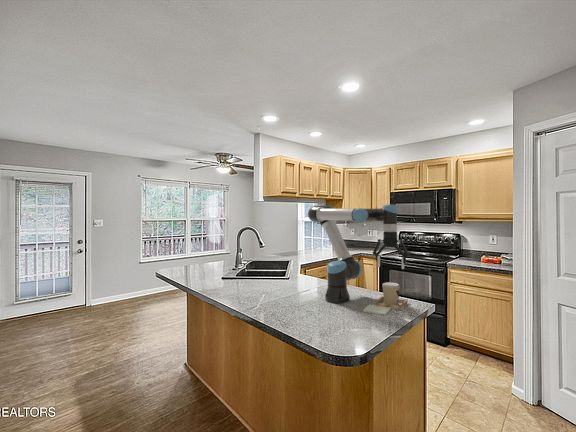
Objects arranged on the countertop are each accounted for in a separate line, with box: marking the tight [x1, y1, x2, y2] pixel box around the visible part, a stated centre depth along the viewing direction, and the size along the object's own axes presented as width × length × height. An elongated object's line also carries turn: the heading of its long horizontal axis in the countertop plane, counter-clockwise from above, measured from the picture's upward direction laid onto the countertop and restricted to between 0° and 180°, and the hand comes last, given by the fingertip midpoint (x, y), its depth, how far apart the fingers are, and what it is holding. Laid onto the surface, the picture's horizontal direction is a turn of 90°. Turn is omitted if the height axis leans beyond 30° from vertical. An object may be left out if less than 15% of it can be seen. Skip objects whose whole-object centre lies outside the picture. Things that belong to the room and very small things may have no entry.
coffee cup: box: [382, 282, 400, 306], centre depth 168 cm, size 9×9×12 cm
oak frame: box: [373, 296, 408, 311], centre depth 168 cm, size 15×15×2 cm
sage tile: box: [362, 303, 392, 316], centre depth 159 cm, size 12×12×1 cm
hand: (390, 267), depth 168 cm, fingers open, 13 cm apart
